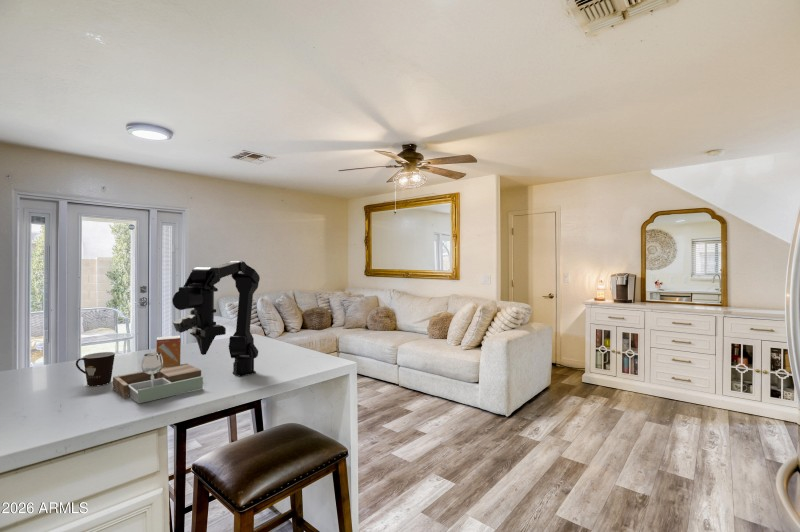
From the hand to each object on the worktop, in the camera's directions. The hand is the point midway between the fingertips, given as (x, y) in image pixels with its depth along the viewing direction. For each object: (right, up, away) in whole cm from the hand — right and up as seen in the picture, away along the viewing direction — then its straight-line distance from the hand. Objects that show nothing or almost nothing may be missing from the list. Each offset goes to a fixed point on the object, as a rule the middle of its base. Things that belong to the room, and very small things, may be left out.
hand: (203, 354), depth 119 cm
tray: (-14, -13, +2) cm, 19 cm away
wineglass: (-16, -12, -1) cm, 20 cm away
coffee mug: (-43, -13, +10) cm, 46 cm away
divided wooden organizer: (-20, -13, +9) cm, 26 cm away
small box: (-28, -13, +27) cm, 41 cm away
